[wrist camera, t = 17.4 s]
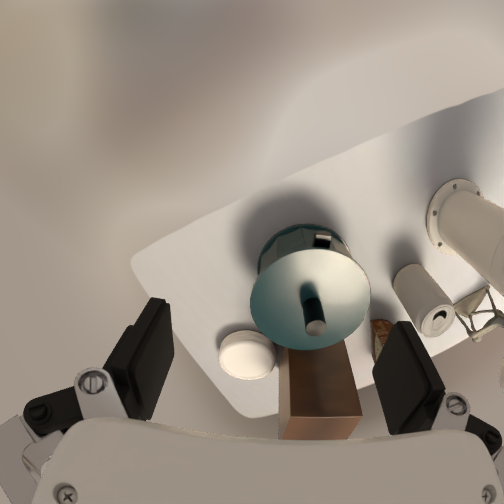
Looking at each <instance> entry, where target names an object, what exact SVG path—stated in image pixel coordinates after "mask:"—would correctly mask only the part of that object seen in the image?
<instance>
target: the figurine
mask: <svg viewBox="0 0 504 504" xmlns="http://www.w3.org/2000/svg"><path fill="white" fill-rule="evenodd" d="M489 288H490V286H489V285H487V286H485V287H484V288H482V289H480V290H478V291H476V292H474V293H472V294H470V295H468V296H466V297H465V298H463V299H461V300H460V301H458V302H457V303H455V304H454V305H453V308H454V310H455V315H456V316H457V317H458V319H459V320H460V321H461V323H462V324H463V325H464V326H465V328H466V330H467V334H468V335H469V336H470V337H471V338H472V340H473V342H475V343H478V342H480V340H481V339H482V336H483V335H484V334H485V333H487V332H488V331H490V330H492V329H493V328H495V327H502V328H504V314H503V312H502V311H500V310H498V309H496V307H495V305H494V302H493V299H492V297H491V295H490V292H489ZM487 293H488V296H489V298H490V301H491V304H492V307H493V310H482V311H477V312H475V311H476V309H477V308H478V306H479V305H480V304H481V302H482V300H483V299H484V297H485V295H486V294H487ZM485 312H493V313H494V314H495V316H494V317H493V318H491V319H490V320H488V322H487V323H486V324H485V325H484V326H483V328H482V329H480V330H478V331H476V330H475V328H474V325H473V321H472V315H475V314H479V313H485ZM458 314H460V315H462V316H464V317H466V318H469V319H470V322H471V328H472V330H473V331H471V330H470V329H469V328H468V326H467V325H466V323H465V322H464V321H463V319H462V318H461V317H460V316H459V315H458Z"/></svg>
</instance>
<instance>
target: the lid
mask: <svg viewBox="0 0 504 504" xmlns="http://www.w3.org/2000/svg"><path fill="white" fill-rule="evenodd" d="M370 300H371V289H370V283H369V281H368V278H367V276H366V274H365V272H364V271H363V269H362V268H361V266H360V265H359V264H358V263H357V262H356V261H355V260H354V259H352V258H351V257H350V256H348V255H346V254H344V253H342V252H340V251H337V250H334V249H330V248H325V247H306V248H301V249H297V250H294V251H290V252H288V253H286V254H284V255H281V256H280V257H278V258H277V259H275V260H274V261H272V262H271V263H270V264H269V265H267V266H266V268H265V269H264V270H263V271H262V272H261V273H260V275H259V276H258V277H257V279H256V281H255V283H254V286H253V289H252V292H251V298H250V309H251V314H252V317H253V320H254V322H255V324H256V326H257V327H258V329H259V330H260V331H261V332H262V333H263V334H264V335H265V336H266V337H267V338H268V339H270V340H271V341H273V342H274V343H277V344H279V345H281V346H284V347H287V348H291V349H296V350H315V349H321V348H325V347H328V346H331V345H333V344H336V343H338V342H340V341H342V340H343V339H345V338H346V337H348V336H349V335H350V334H352V333H353V332H354V331H355V330H356V329H357V328H358V327H359V325H360V324H361V323H362V321H363V320H364V318H365V316H366V314H367V312H368V309H369V306H370Z"/></svg>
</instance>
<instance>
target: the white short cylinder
mask: <svg viewBox="0 0 504 504" xmlns="http://www.w3.org/2000/svg"><path fill="white" fill-rule="evenodd" d="M218 359H219V364H220V366H221V367H222V369H223V370H224V371H225V372H227V373H228V374H230V375H231V376H233V377H236V378H239V379H245V380H253V379H258V378H262V377H264V376H266V375H268V374H269V373H270V372H271V371H272V370H273V368H274V366H275V347H274V345H273V343H272V341H271V340H270V339H268V338H267V337H266V336H265V335H263V334H261V333H259V332H255V331H250V330H242V331H237V332H234V333H231V334H229V335H228V336H227V337H226V338H225V339H224V340H223V341H222V343H221V346H220V350H219V355H218Z"/></svg>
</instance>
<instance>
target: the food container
mask: <svg viewBox="0 0 504 504" xmlns="http://www.w3.org/2000/svg"><path fill="white" fill-rule="evenodd" d="M370 324H371V340H372V357H373V360H374V363H376V361H377V359H378V357H379V355H380V352H381V350H382V348H383V346H384V344H385V341H386V339H387V337H388V335H389V332H390V330H391V328H392V326H393V324H392V323H391V322H389V321H387V320H383V319H376V320H371V321H370Z"/></svg>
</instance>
